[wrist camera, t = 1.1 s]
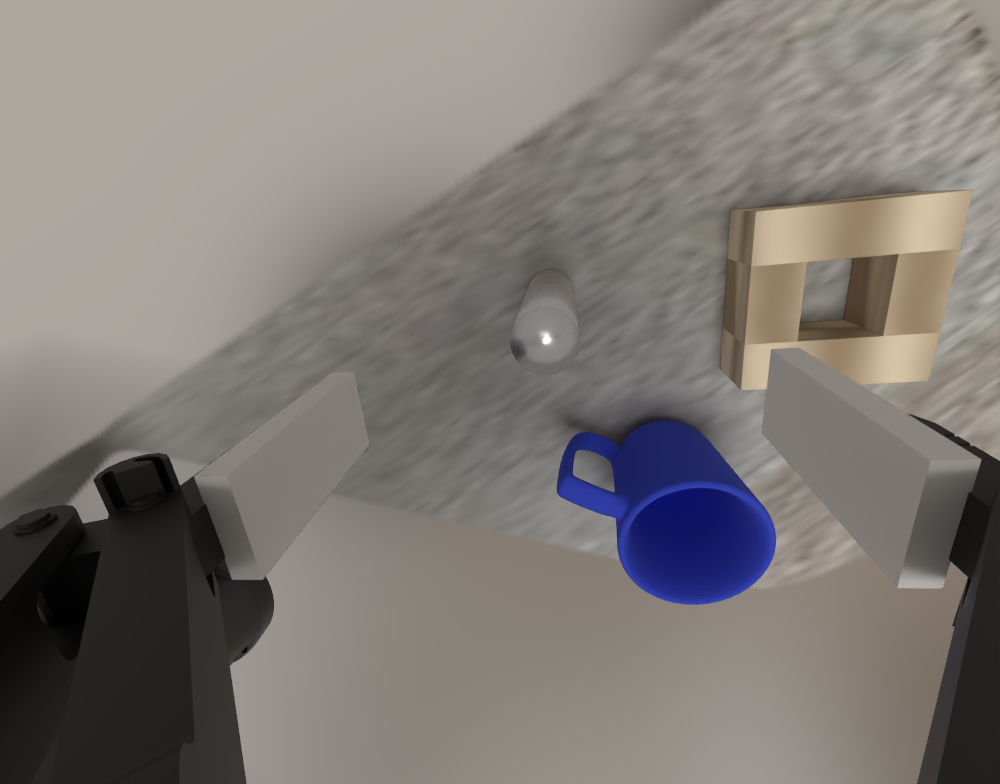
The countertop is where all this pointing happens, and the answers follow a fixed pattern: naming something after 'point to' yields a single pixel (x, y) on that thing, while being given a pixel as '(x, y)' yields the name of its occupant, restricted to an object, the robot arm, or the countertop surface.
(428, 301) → the countertop surface
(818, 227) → the hole block
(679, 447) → the mug
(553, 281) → the peg
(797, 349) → the robot arm
